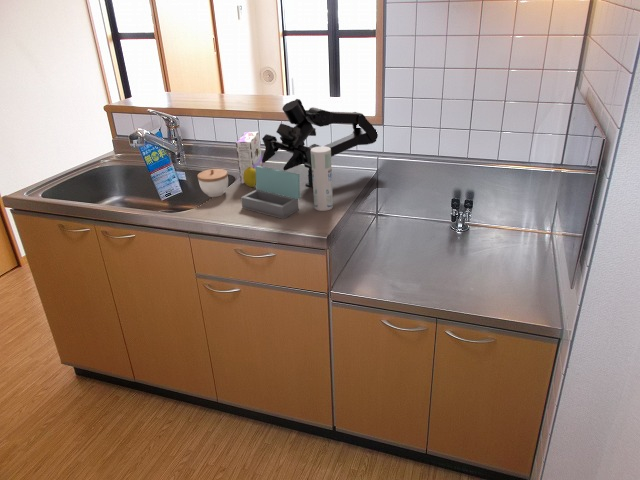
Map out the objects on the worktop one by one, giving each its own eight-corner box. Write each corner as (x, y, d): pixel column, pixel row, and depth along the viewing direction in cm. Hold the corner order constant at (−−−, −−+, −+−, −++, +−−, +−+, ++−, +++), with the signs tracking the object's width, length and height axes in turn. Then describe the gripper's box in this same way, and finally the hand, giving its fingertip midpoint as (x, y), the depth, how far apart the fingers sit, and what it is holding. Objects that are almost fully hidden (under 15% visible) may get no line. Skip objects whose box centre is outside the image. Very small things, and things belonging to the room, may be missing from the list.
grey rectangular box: (258, 199, 180) (256, 189, 179) (298, 209, 171) (297, 198, 169) (242, 208, 175) (241, 197, 173) (283, 218, 165) (282, 207, 163)
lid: (256, 189, 179) (257, 188, 179) (298, 198, 169) (299, 198, 170) (255, 166, 176) (256, 165, 176) (297, 174, 166) (299, 174, 166)
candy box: (249, 171, 208) (244, 131, 200) (263, 171, 207) (259, 131, 199) (240, 183, 196) (234, 141, 188) (255, 183, 195) (250, 141, 187)
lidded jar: (197, 200, 183) (193, 175, 179) (204, 188, 193) (200, 165, 189) (227, 198, 183) (224, 173, 179) (232, 187, 193) (229, 163, 188)
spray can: (332, 211, 169) (329, 152, 159) (312, 210, 170) (308, 152, 160) (334, 203, 174) (332, 146, 165) (315, 203, 175) (312, 146, 166)
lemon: (258, 190, 189) (256, 169, 185) (243, 190, 189) (240, 169, 185) (260, 184, 194) (258, 164, 190) (245, 185, 194) (243, 164, 190)
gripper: (271, 110, 175) (244, 141, 169) (315, 123, 167) (288, 156, 160) (280, 134, 184) (254, 164, 178) (322, 148, 176) (297, 179, 169)
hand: (273, 165), depth 171 cm, fingers open, 9 cm apart
